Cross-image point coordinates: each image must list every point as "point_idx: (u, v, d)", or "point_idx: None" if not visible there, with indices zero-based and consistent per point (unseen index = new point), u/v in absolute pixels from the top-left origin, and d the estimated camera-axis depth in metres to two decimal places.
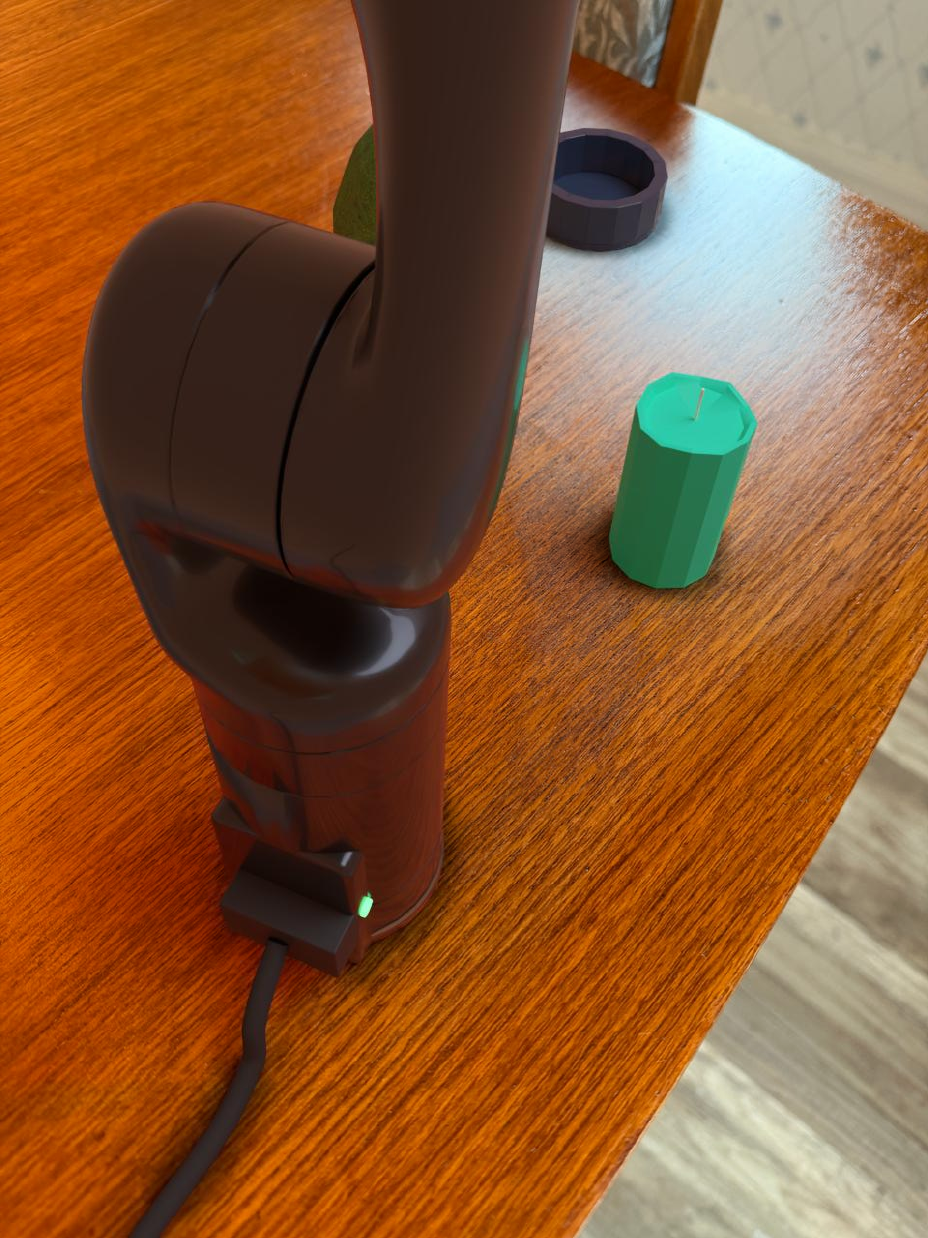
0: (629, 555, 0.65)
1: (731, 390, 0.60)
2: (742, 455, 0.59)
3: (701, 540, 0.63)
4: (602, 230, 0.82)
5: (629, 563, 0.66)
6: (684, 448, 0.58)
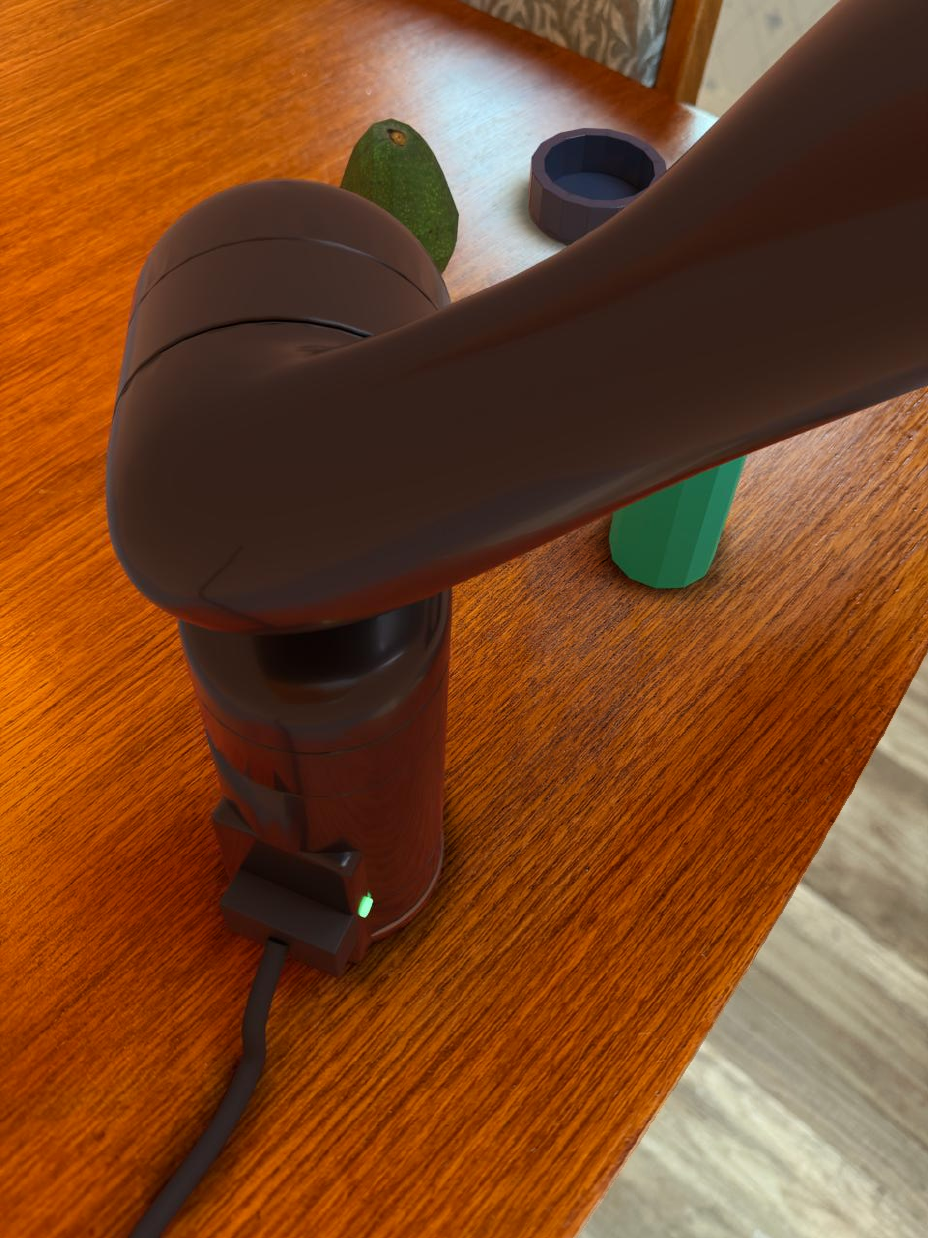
0: (629, 555, 0.65)
1: None
2: None
3: (701, 540, 0.63)
4: None
5: (629, 563, 0.66)
6: None
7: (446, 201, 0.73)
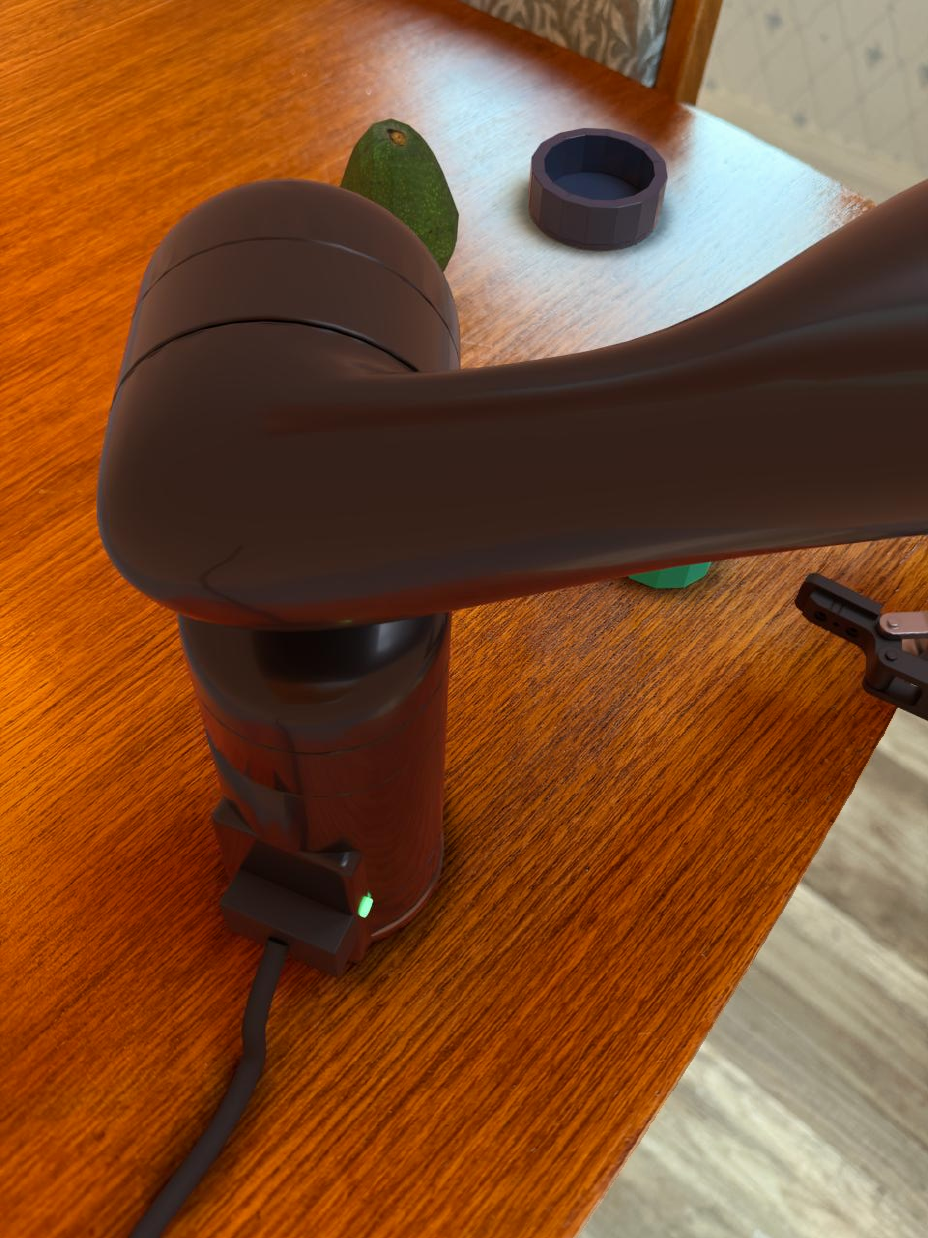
0: None
1: None
2: None
3: None
4: (602, 230, 0.82)
5: None
6: None
7: (446, 201, 0.73)
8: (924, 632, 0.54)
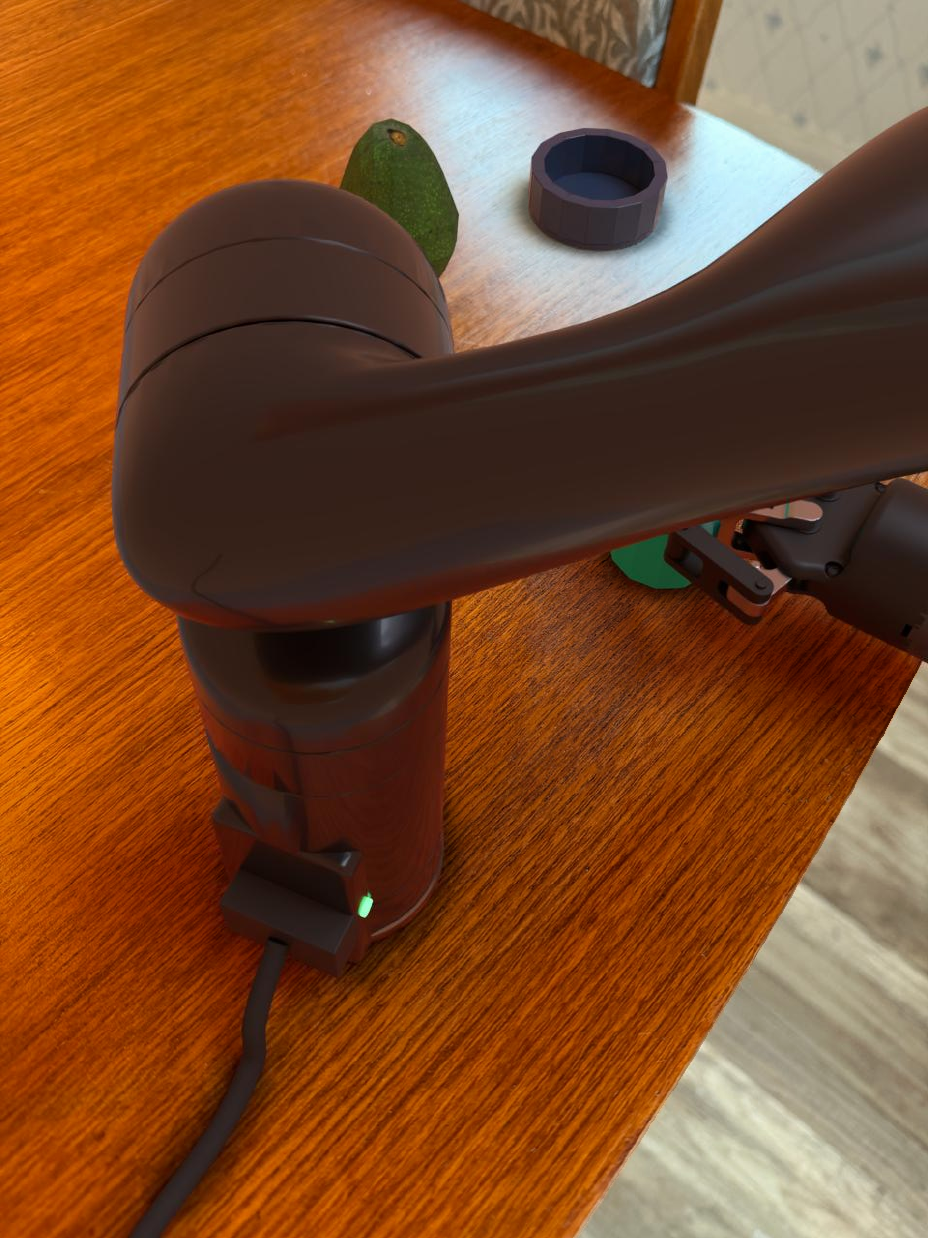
0: (629, 555, 0.65)
1: None
2: None
3: None
4: (602, 230, 0.82)
5: (629, 563, 0.66)
6: None
7: (446, 201, 0.73)
8: None
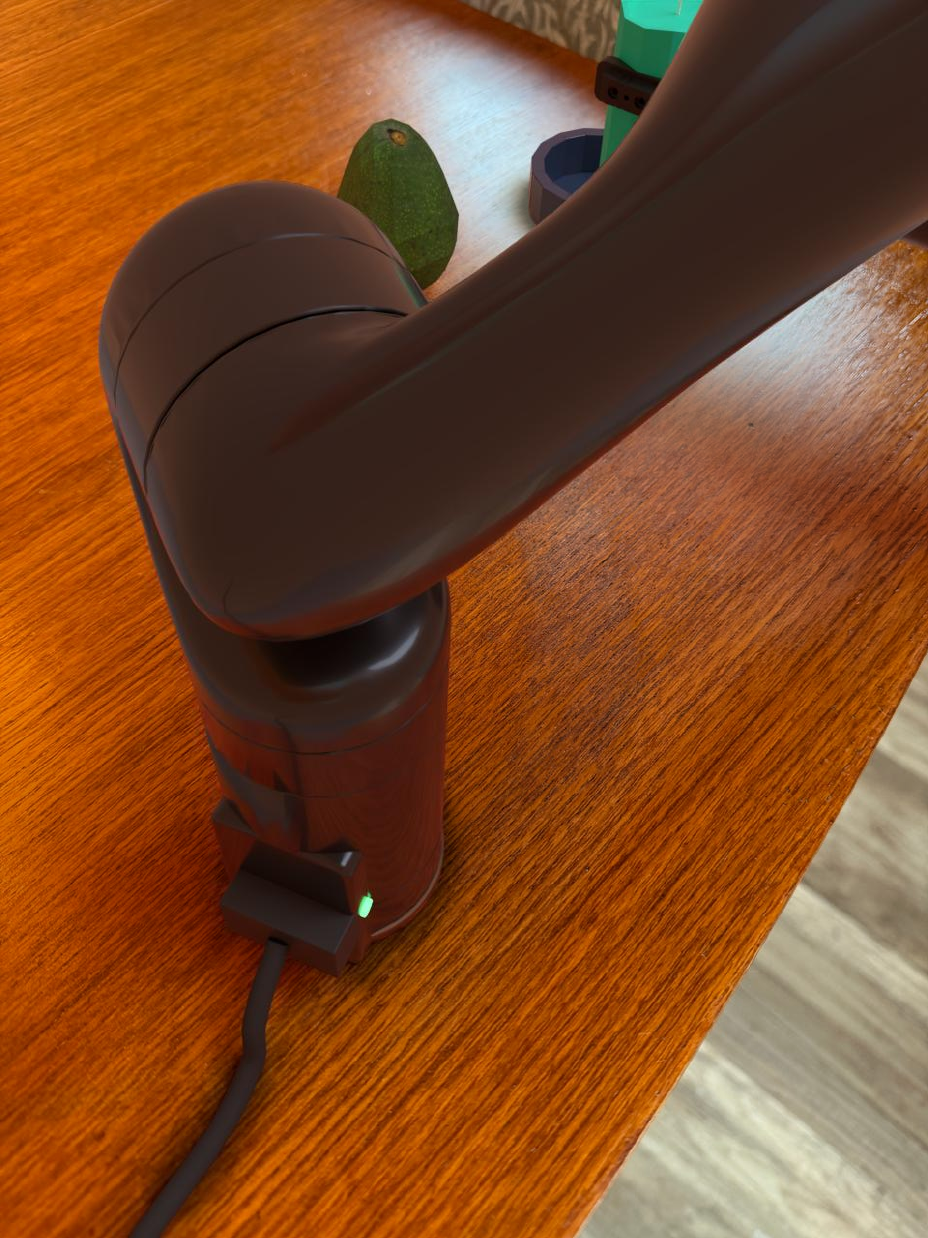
0: None
1: None
2: None
3: None
4: None
5: None
6: (666, 28, 0.60)
7: (446, 201, 0.73)
8: None
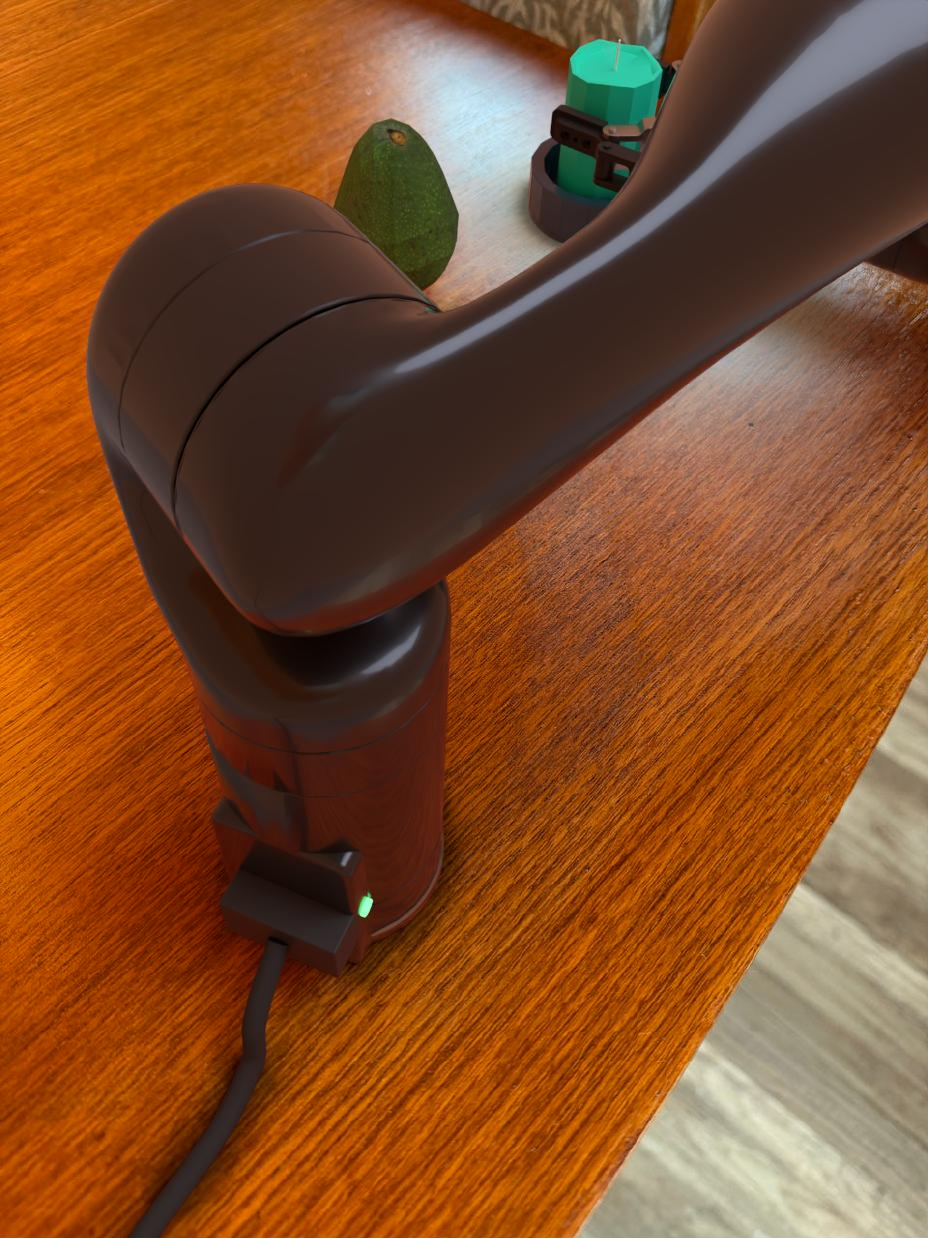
0: None
1: (644, 51, 0.78)
2: (650, 93, 0.77)
3: None
4: None
5: None
6: (605, 82, 0.75)
7: (446, 201, 0.73)
8: (634, 134, 0.75)
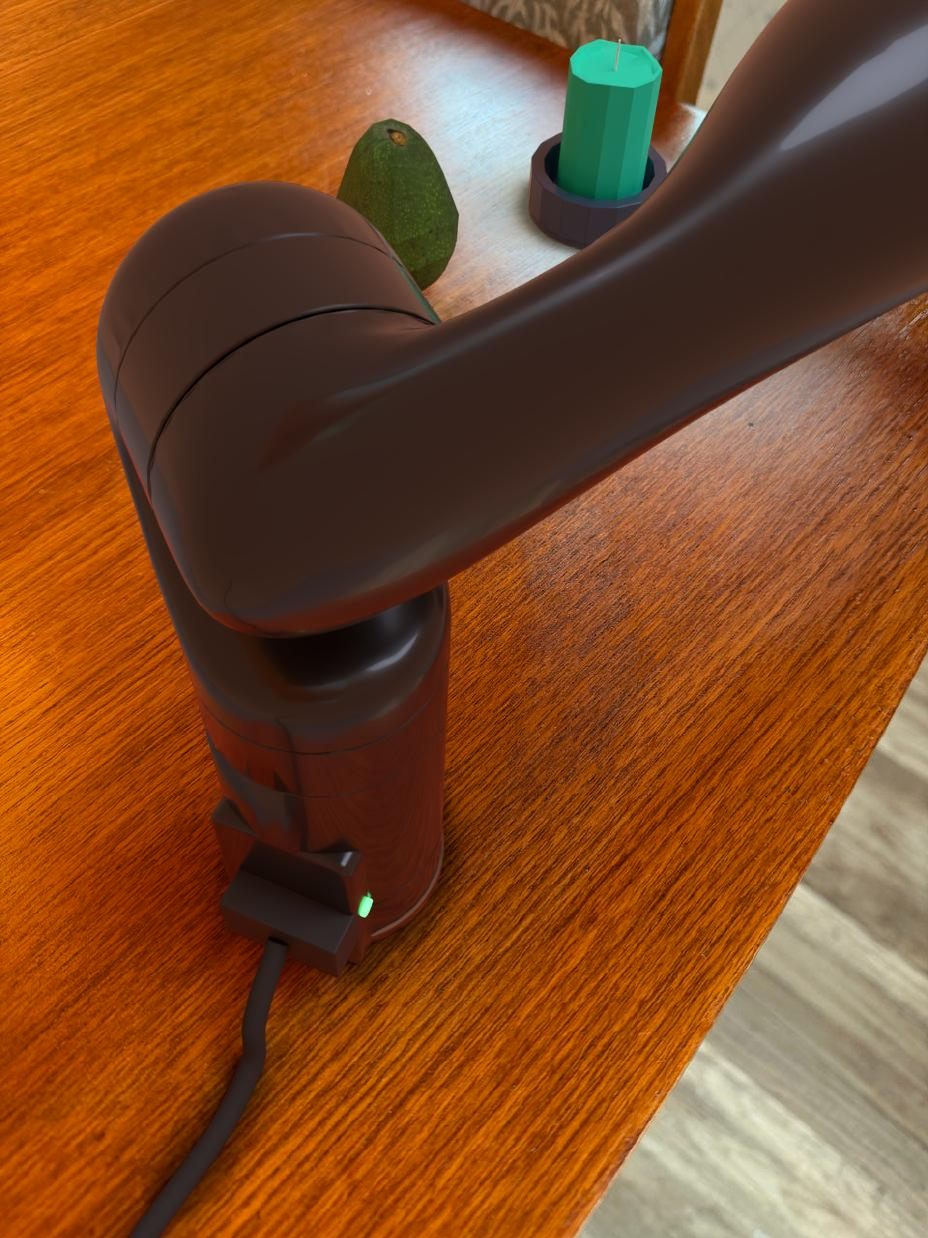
0: None
1: (644, 51, 0.78)
2: (650, 93, 0.77)
3: (623, 179, 0.81)
4: (602, 230, 0.82)
5: None
6: (605, 82, 0.75)
7: (446, 201, 0.73)
8: None
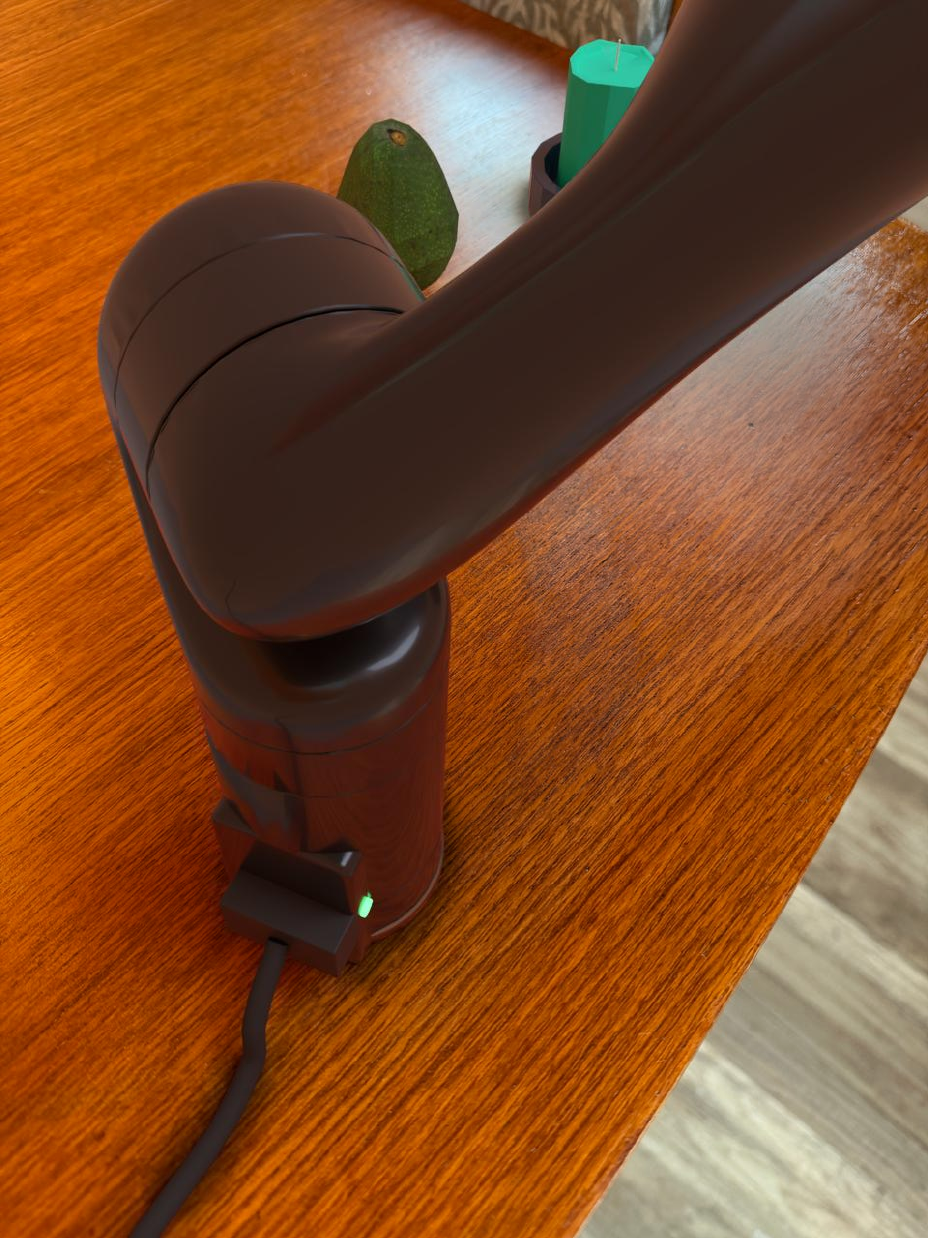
0: None
1: (644, 51, 0.78)
2: None
3: None
4: None
5: None
6: (605, 82, 0.75)
7: (446, 201, 0.73)
8: None
